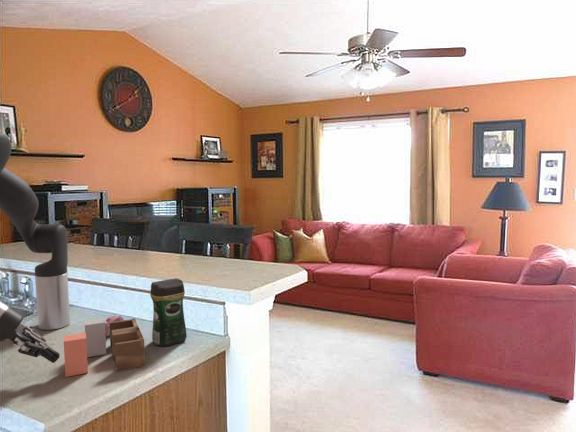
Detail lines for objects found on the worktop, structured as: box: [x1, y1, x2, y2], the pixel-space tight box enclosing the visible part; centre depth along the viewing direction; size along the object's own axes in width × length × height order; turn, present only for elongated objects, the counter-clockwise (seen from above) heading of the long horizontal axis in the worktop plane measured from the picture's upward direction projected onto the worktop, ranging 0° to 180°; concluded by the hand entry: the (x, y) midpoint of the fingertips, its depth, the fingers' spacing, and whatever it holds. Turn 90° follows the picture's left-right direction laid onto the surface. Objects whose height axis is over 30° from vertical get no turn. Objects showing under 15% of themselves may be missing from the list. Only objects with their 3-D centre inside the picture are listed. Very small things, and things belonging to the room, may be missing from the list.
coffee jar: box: [149, 277, 188, 347], centre depth 129 cm, size 10×8×19 cm
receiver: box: [109, 318, 146, 372], centre depth 120 cm, size 18×7×7 cm, turn 26°
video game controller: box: [104, 314, 124, 338], centre depth 135 cm, size 10×5×7 cm, turn 169°
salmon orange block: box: [63, 332, 89, 378], centre depth 110 cm, size 4×5×9 cm
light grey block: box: [83, 317, 107, 358], centre depth 121 cm, size 4×5×9 cm
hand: (57, 358), depth 108 cm, fingers closed
